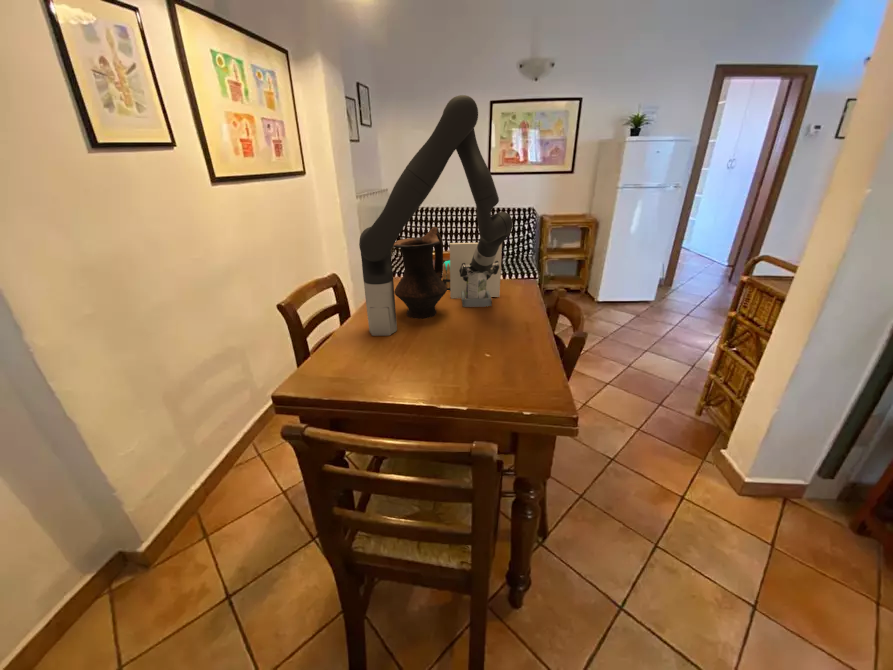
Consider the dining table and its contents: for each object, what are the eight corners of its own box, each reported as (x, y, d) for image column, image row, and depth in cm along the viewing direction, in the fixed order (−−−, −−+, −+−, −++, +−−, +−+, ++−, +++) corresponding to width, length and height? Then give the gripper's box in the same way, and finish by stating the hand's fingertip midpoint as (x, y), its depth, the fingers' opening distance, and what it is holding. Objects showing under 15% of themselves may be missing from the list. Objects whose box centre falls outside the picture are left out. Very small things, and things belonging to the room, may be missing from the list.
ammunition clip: (442, 290, 161) (441, 263, 156) (442, 289, 163) (442, 262, 158) (466, 291, 160) (466, 264, 154) (467, 290, 161) (467, 262, 156)
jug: (424, 329, 124) (420, 238, 111) (385, 317, 134) (378, 232, 121) (461, 310, 139) (461, 228, 126) (423, 301, 149) (420, 224, 137)
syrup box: (474, 298, 151) (474, 263, 145) (486, 301, 148) (487, 265, 142) (465, 302, 147) (465, 266, 141) (478, 305, 144) (478, 268, 138)
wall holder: (503, 306, 143) (506, 248, 133) (451, 307, 143) (450, 249, 133) (498, 296, 153) (501, 242, 144) (450, 296, 153) (449, 243, 144)
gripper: (502, 245, 132) (491, 269, 147) (462, 247, 130) (456, 271, 145) (506, 264, 130) (495, 285, 145) (466, 266, 127) (459, 288, 142)
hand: (475, 278), depth 145 cm, fingers open, 8 cm apart
